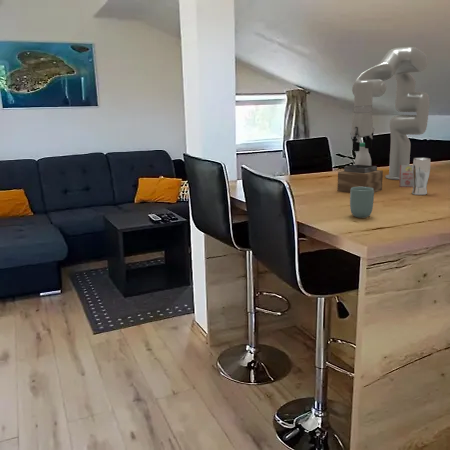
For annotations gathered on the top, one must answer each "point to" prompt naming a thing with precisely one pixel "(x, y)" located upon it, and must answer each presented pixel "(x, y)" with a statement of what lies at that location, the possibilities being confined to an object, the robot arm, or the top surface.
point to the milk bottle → (363, 156)
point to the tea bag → (406, 176)
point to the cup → (361, 201)
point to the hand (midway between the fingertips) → (362, 149)
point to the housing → (360, 177)
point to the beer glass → (420, 175)
